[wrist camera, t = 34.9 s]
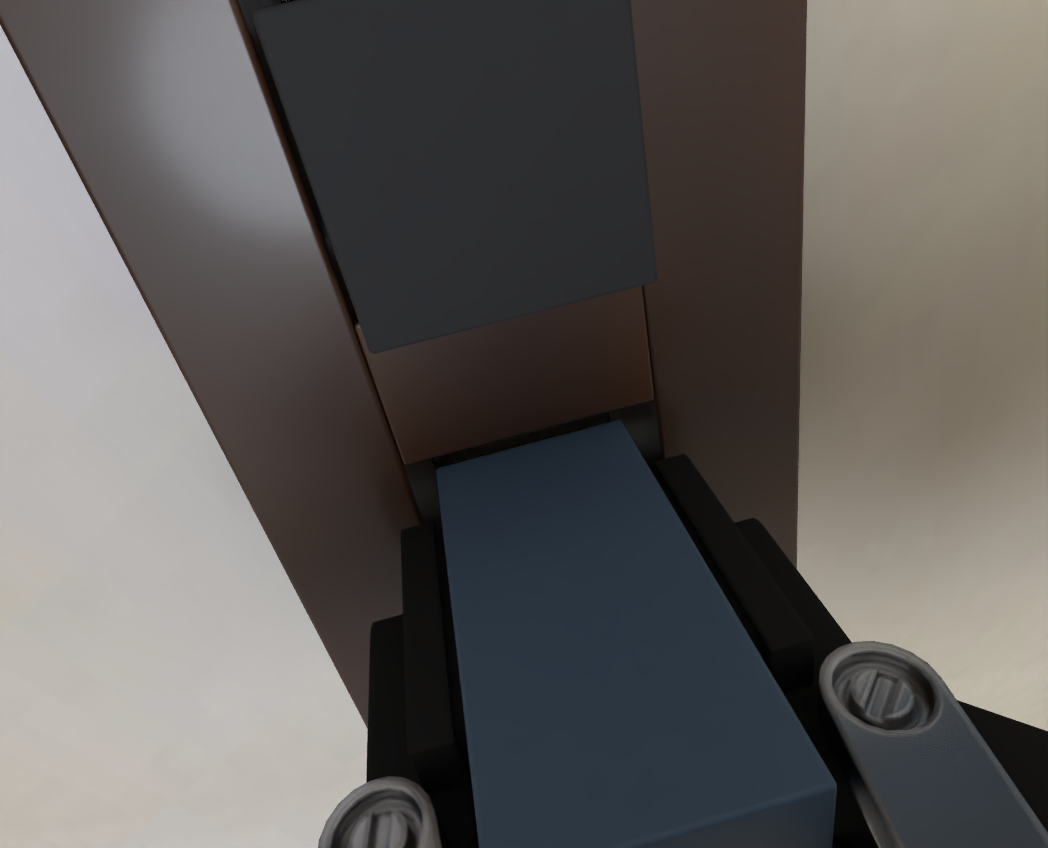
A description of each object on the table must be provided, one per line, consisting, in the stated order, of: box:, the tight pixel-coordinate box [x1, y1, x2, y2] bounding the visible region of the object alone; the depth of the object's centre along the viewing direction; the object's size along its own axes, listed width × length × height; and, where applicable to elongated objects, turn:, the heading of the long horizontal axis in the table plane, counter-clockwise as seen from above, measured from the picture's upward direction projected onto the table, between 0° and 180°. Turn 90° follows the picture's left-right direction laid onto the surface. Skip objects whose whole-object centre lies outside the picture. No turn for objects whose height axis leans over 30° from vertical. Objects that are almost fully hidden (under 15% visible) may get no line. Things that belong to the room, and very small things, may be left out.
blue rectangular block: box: [436, 420, 837, 848], centre depth 9 cm, size 3×3×6 cm
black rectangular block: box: [253, 0, 657, 354], centre depth 9 cm, size 3×3×6 cm
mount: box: [0, 0, 807, 728], centre depth 12 cm, size 9×16×4 cm, turn 11°
